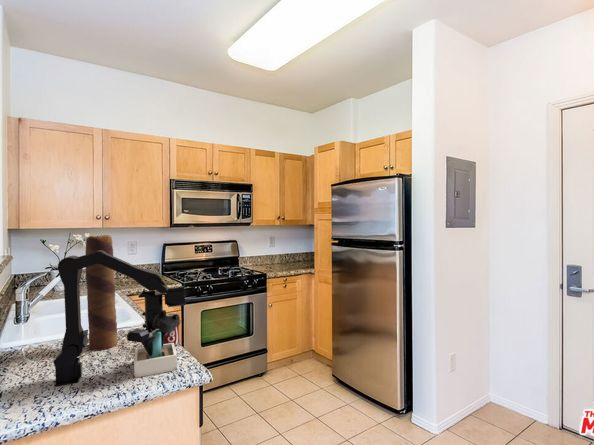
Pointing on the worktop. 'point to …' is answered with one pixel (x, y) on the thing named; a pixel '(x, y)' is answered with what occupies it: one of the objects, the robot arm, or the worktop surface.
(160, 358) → the peg box
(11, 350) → the worktop surface
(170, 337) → the soda can
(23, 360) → the worktop surface
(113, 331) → the wafer roll
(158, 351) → the peg
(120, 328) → the worktop surface
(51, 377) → the worktop surface
